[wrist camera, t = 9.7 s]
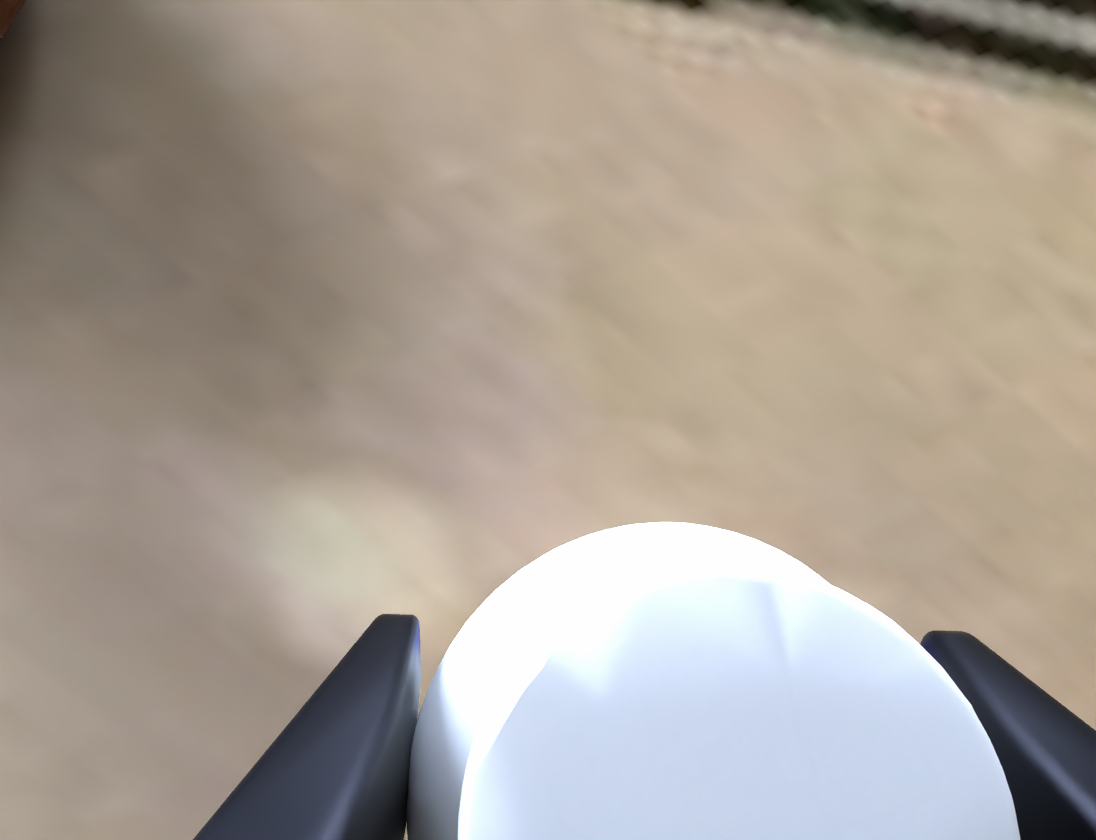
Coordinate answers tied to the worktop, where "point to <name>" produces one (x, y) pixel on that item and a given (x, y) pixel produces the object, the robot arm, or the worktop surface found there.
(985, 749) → the pill bottle
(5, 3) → the potato
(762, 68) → the worktop surface
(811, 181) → the worktop surface
